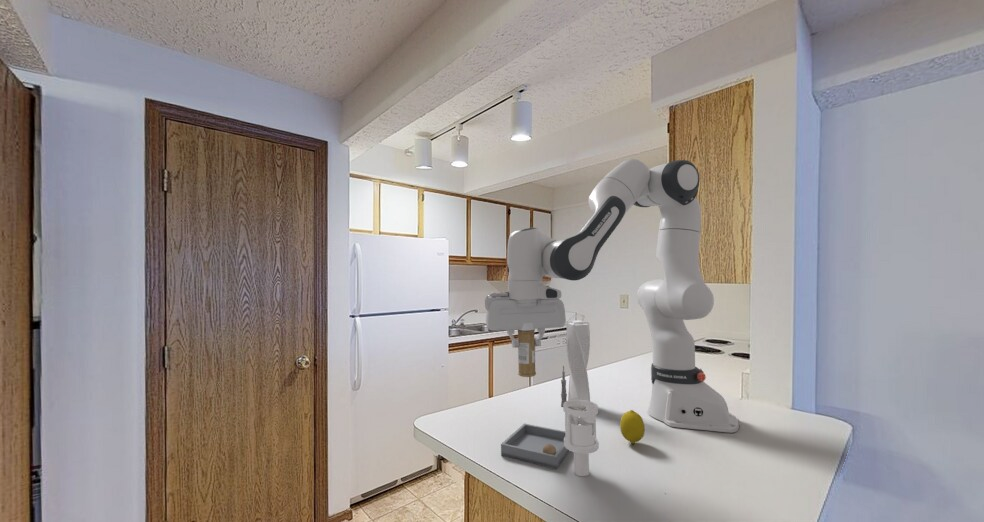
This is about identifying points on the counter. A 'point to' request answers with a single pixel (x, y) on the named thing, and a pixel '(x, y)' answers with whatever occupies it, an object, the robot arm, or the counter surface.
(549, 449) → the wooden ball
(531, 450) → the tray
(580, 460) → the white hollow mechanical part
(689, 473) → the counter surface
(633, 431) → the lemon
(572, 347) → the skyscraper
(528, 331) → the sprinkles bottle
